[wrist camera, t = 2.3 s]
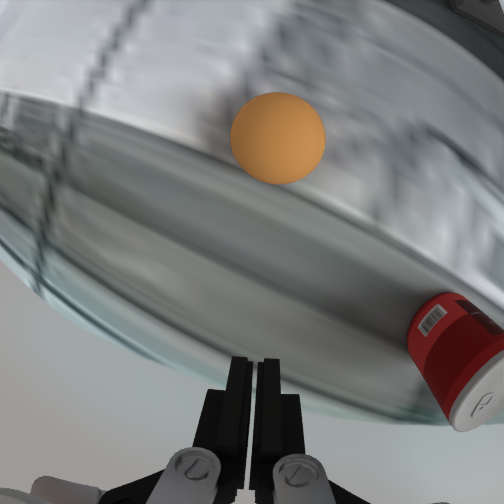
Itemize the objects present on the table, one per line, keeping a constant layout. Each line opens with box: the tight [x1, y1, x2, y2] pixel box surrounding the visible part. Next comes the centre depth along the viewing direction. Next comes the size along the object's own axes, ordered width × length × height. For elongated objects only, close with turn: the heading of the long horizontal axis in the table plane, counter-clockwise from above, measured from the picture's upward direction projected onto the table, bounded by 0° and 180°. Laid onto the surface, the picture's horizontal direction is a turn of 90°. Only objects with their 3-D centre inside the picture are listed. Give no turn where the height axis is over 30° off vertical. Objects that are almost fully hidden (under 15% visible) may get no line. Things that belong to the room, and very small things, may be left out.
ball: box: [230, 92, 326, 184], centre depth 17 cm, size 6×6×6 cm
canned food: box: [407, 292, 504, 432], centre depth 18 cm, size 8×8×11 cm
